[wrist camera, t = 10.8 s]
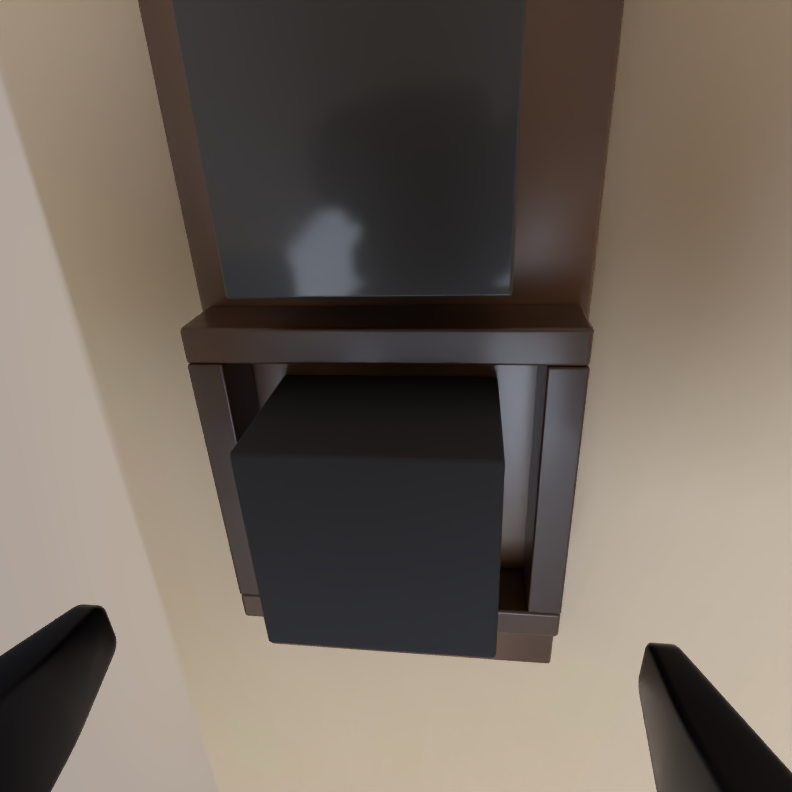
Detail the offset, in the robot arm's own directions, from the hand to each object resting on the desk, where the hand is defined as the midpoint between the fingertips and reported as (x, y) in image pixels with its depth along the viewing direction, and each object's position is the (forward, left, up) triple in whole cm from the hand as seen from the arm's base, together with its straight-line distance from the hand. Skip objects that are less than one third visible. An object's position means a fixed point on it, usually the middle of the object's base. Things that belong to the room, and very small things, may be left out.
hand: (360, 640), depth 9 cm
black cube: (0, 0, -5) cm, 5 cm away
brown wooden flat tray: (0, +2, -7) cm, 7 cm away
